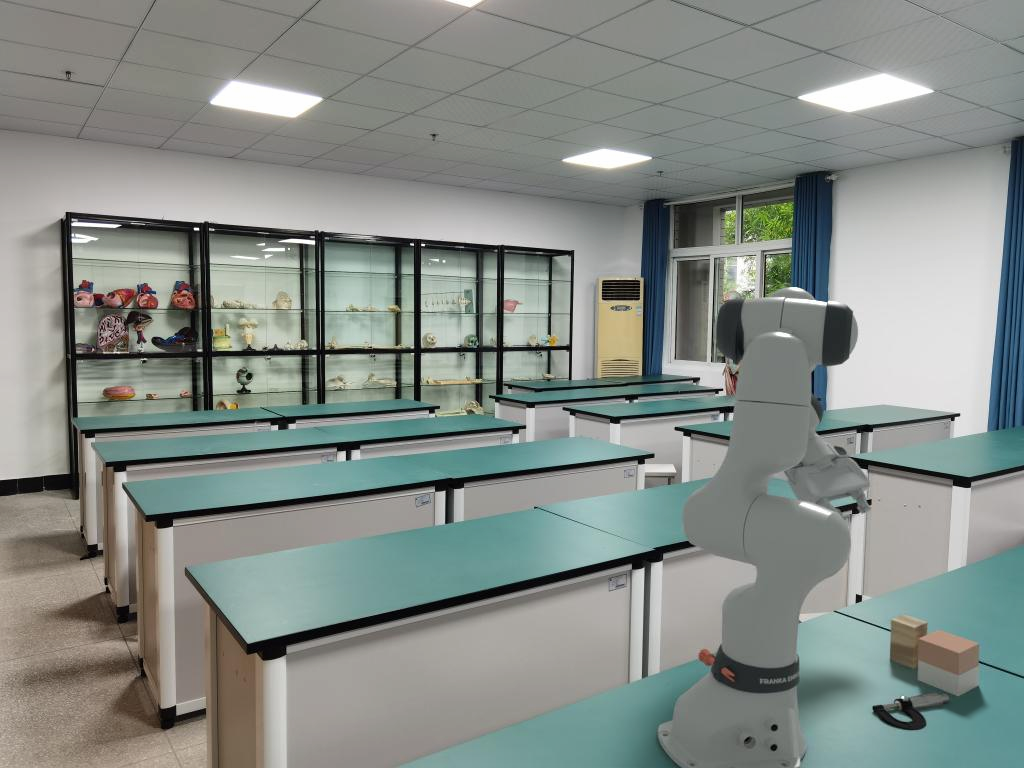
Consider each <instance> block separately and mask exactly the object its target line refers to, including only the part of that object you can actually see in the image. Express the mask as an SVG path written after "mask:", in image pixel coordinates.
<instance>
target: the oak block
mask: <svg viewBox="0 0 1024 768" xmlns="http://www.w3.org/2000/svg"><path fill="white" fill-rule="evenodd" d="M928 624H929V622H928V621H925V620H921V619H919V618H916V617H913V616H909V615H906V614H902V615H899V616H896V617H894V618H891V619H890V644H889V646H890V647H889V660H890V661H892V662H895V663H897V662H898V664H900V665H903V666H905V667H907V666H908V668H910V669H915V668H918V667H917V666H918V640H919V638H921V637H923V636H926V635H928Z"/></svg>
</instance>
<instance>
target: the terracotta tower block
mask: <svg viewBox="0 0 1024 768" xmlns="http://www.w3.org/2000/svg"><path fill="white" fill-rule="evenodd" d="M918 660H919V661H922V662H925V663H927V664H930V665H933V666H935V667H938V668H940V669H943V670H946V671H948V672H951V673H953V674H956V675H960V674H962V673H964V672H966V671H968V670H970V669H972V668H974V667H976V666H978V665H979V662H980V661H979V660H980V643H979V642H976V641H974V640H970V639H968V638H964V637H961V636H959V635H955V634H952V633H949V632H946V631H943V630H942V629H937V630H934V631H933V632H931V633H927V635H926V636H923V637H921V638H919V640H918Z"/></svg>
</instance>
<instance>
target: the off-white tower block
mask: <svg viewBox="0 0 1024 768" xmlns="http://www.w3.org/2000/svg"><path fill="white" fill-rule="evenodd" d="M979 677H980V665H979V664H978V666H976V667H974V668H972V669H970V670H968V671H966V672H964V673H962V674H960V675H956V674H953V673H951V672H948V671H946V670H943V669H940V668H938V667H935V666H933V665H930V664H927V663H925V662H922V661H919V660H918V667H917V681H920V682H922V683H925V684H927V685H929V686H931V687H934V688H937V689H939V690H941V691H944V692H946V693H949V694H951V695H954V696H955V697H960V696H962V695H964V694H965V693H968V692H969V691H971V690H973V689H975V688H977V687H978V686H979V679H980V678H979Z"/></svg>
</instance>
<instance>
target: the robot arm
mask: <svg viewBox="0 0 1024 768" xmlns="http://www.w3.org/2000/svg"><path fill="white" fill-rule="evenodd" d="M713 325H714V326H713V336H714V340H715V344H716V348H717V350H718V352H719V353H720V354H721V355H722V356H723V357H725V358H726V359H728V360H732V363H733V365H735V366H738V365H739V363H740V362H741V363H740V366H739V370H738V375H737V376H738V377H737V380H736V388H735V394H734V395H735V396H734V406H733V413H732V414H733V416H732V423H731V430H730V437H729V444H728V447H727V451H726V454H725V456H724V458H723V461H722V463H721V464H720V467H718V468H719V469H718V470H717V471H716V472H715V474H714V475H713V477H712V478H711V479H709V480H708V482H706V483H705V484H704V485H702V486H701V487H699V488H697V489H696V490H694V491H693V492H692V493H691V494H690V495H689V496H688V498H687V499H686V500H685V503H684V505H683V508H682V513H681V527H682V530H683V534H684V535H685V537H686V539H687V541H688V542H689V543H690V544H691V545H693V546H695V547H697V548H699V549H701V550H703V551H704V552H705V551H706V552H707V553H709V554H711V555H714V556H716V557H720V558H725V559H729V560H732V561H736V562H741V563H744V564H749V565H752V566H755V568H756V575H755V576H756V577H755V581H753V582H750V583H745V584H743V585H740V586H738V587H735V588H733V589H732V590H731V591H729V593H728V594H727V595H726V596H725V598H724V600H723V602H722V606H721V607H722V608H721V644H719V647H718V649H717V651H716V653H715V655H714V653H711V652H710V651H709V650H708V649H706V648H702V649H701V650H699V652H698V656H697V657H698V660H699V661H700V662H702V663H704V665H705V666H707V667H710V671H709V672H707V674H705V675H704V676H703V677H702V678H700V679H699V680H698V681H697V682H696V683H694V684H693V685H692V686H691V687H690V688H689V689H688V690H686V691H685V692H684V693H682V694H681V695H680V696H679V697H678V698H677V700H676V703H675V706H674V709H673V715H672V720H669V721H666V722H663V723H660V724H659V725H658V729H657V740H658V742H659V744H660V746H661V748H662V749H663V750H664V752H665V753H666V754H667V755H668V757H669V758H670V759H671V760H672V761H673V762H674V763H675V764H677V766H678V767H680V768H802V764H801V760H802V758H803V757H804V756H805V753H806V750H807V744H806V741H805V738H804V734H803V730H802V726H801V719H800V712H799V702H798V689H797V688H798V687H797V686H798V685H799V682H800V657H799V654H798V652H797V650H798V649H797V648H798V633H799V624H800V616H801V610H802V607H803V604H804V602H805V600H806V598H807V597H808V595H809V594H810V593H811V591H812V590H813V589H814V588H815V587H816V586H818V584H820V583H821V582H823V581H825V580H827V579H829V578H832V577H833V576H835V575H836V574H837V573H838V572H840V571H841V570H842V568H844V567H845V565H846V564H847V561H848V560H849V557H850V554H851V550H852V537H851V532H850V528H849V526H848V525H847V523H846V521H845V519H844V518H843V517H844V515H843V512H841V509H839V508H836V507H835V506H834V505H832V504H831V503H830V502H832V501H836V500H837V501H838V500H840V499H846V498H850V497H851V498H852V499H853V500H854V501H856V504H857V507H856V508H857V510H858V511H859V513H860V514H867V513H869V512H870V511H871V510H872V507H871V505H870V504H869V503H868V501H867V497H866V494H865V492H866V491H867V490H868V489H869V488H870V487H871V482H870V480H869V478H868V476H867V475H866V474H865V472H864V471H863V469H862V468H861V466H859V464H858V463H857V461H855V460H854V459H852V458H851V457H849V456H850V454H851V453H850V452H849V450H848V449H847V448H846V447H844V446H840V445H836V444H832V443H830V442H826V441H825V440H824V439H823V438H822V437H821V436H820V435H819V434H818V433H817V432H816V429H817V428H818V427H819V426H820V424H821V422H822V420H823V416H824V411H825V410H824V407H823V406H822V404H821V403H820V401H819V400H818V399H817V397H816V396H815V395H814V394H813V392H812V372H813V371H815V369H816V367H817V366H819V365H821V366H822V367H823V368H824V367H833V366H839V365H843V364H844V363H845V362H846V361H848V360H849V359H850V355H851V354H852V353H853V351H854V349H855V347H856V345H857V342H858V339H859V337H858V336H859V326H858V323H857V319H856V317H855V315H854V310H852V309H851V308H850V307H849V306H848V305H847V304H845V303H841V302H840V301H839V302H838V301H834V300H827V302H825V301H822V300H821V301H820V300H816V299H815V298H814V296H813V295H812V294H811V293H810V292H809V291H806V289H803V288H800V287H793V286H792V287H783V288H780V289H777V290H775V291H773V292H772V293H771V294H769V296H768V297H755V298H754V297H753V298H746V297H737V298H732V299H728V300H726V301H725V302H724V303H723V304H722V305H721V306H720V307H719V310H718V312H717V315H716V317H715V321H714V324H713ZM782 472H783V474H784V475H785V476H786V478H787V482H788V485H789V487H790V489H791V491H792V493H793V495H794V496H795V497H796V498H790V497H783V496H777V495H774V494H768V487H769V484H770V482H771V481H772V478H773V477H774V476H775V475H776V474H780V473H782Z"/></svg>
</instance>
